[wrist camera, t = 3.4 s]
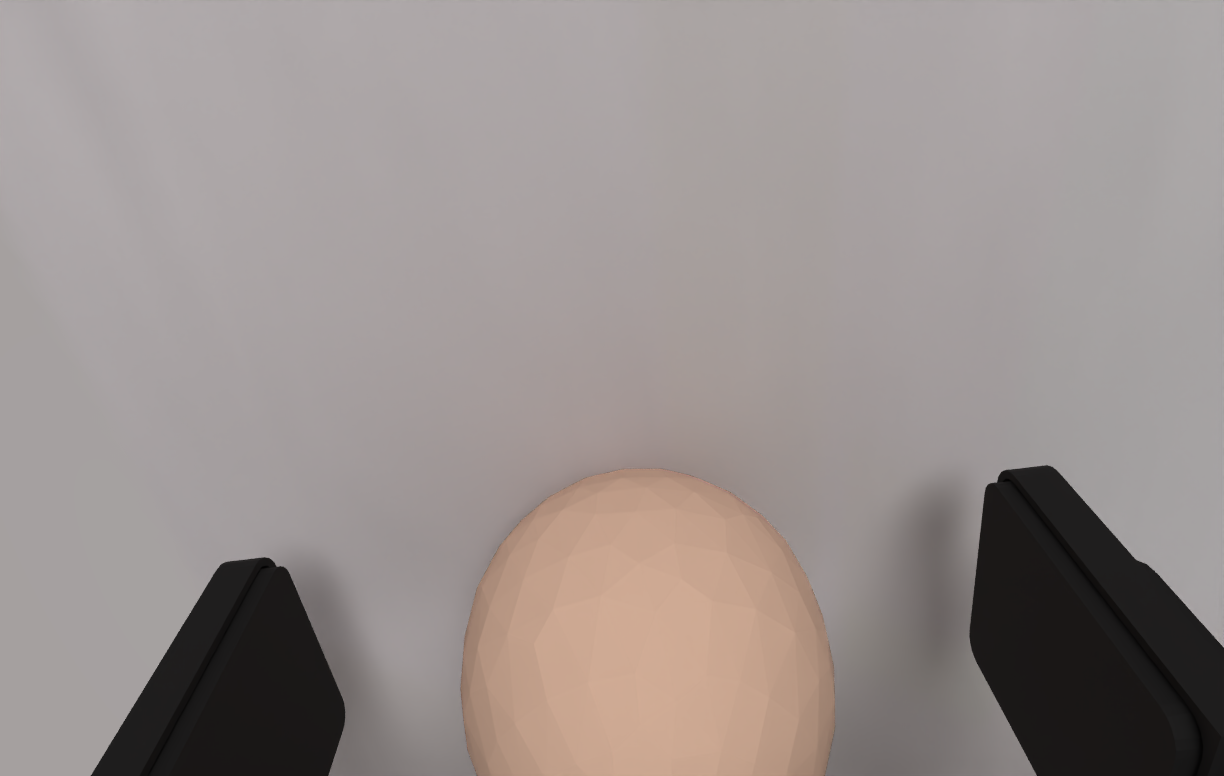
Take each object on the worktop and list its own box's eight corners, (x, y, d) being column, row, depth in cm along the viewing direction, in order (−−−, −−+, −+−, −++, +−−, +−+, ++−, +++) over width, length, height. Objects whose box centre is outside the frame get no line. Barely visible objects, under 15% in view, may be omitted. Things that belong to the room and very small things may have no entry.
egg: (597, 670, 14) (597, 1082, 9) (427, 494, 12) (306, 886, 7) (832, 554, 13) (988, 951, 8) (684, 340, 11) (760, 676, 6)
